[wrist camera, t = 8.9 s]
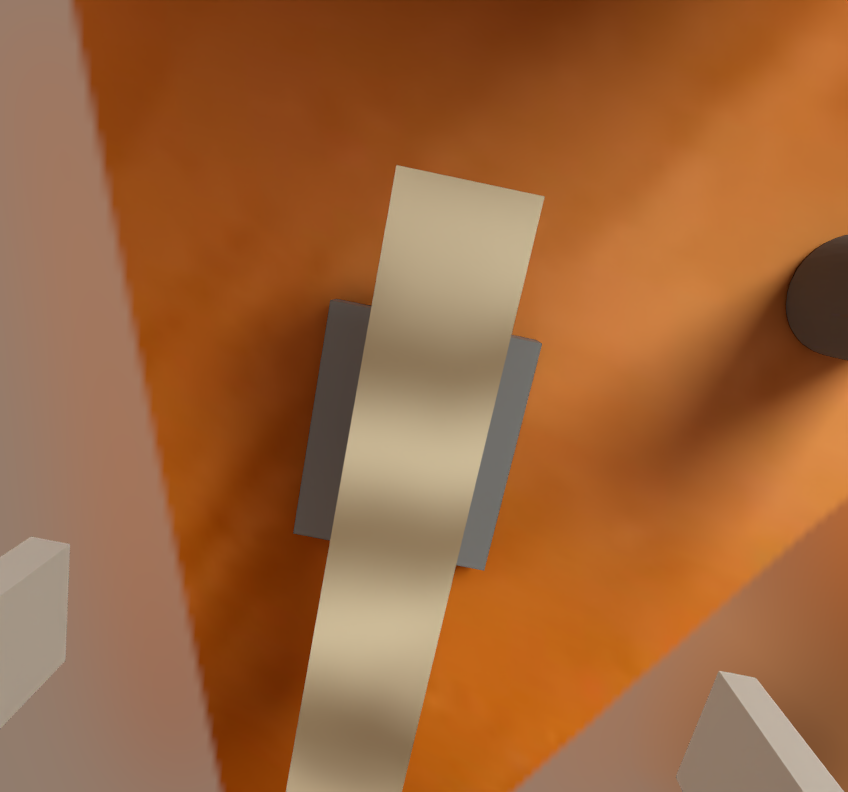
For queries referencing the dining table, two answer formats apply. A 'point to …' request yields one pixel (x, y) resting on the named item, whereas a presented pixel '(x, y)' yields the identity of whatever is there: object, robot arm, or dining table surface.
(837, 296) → the bottle
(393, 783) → the beam
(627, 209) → the dining table surface
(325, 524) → the fulcrum
